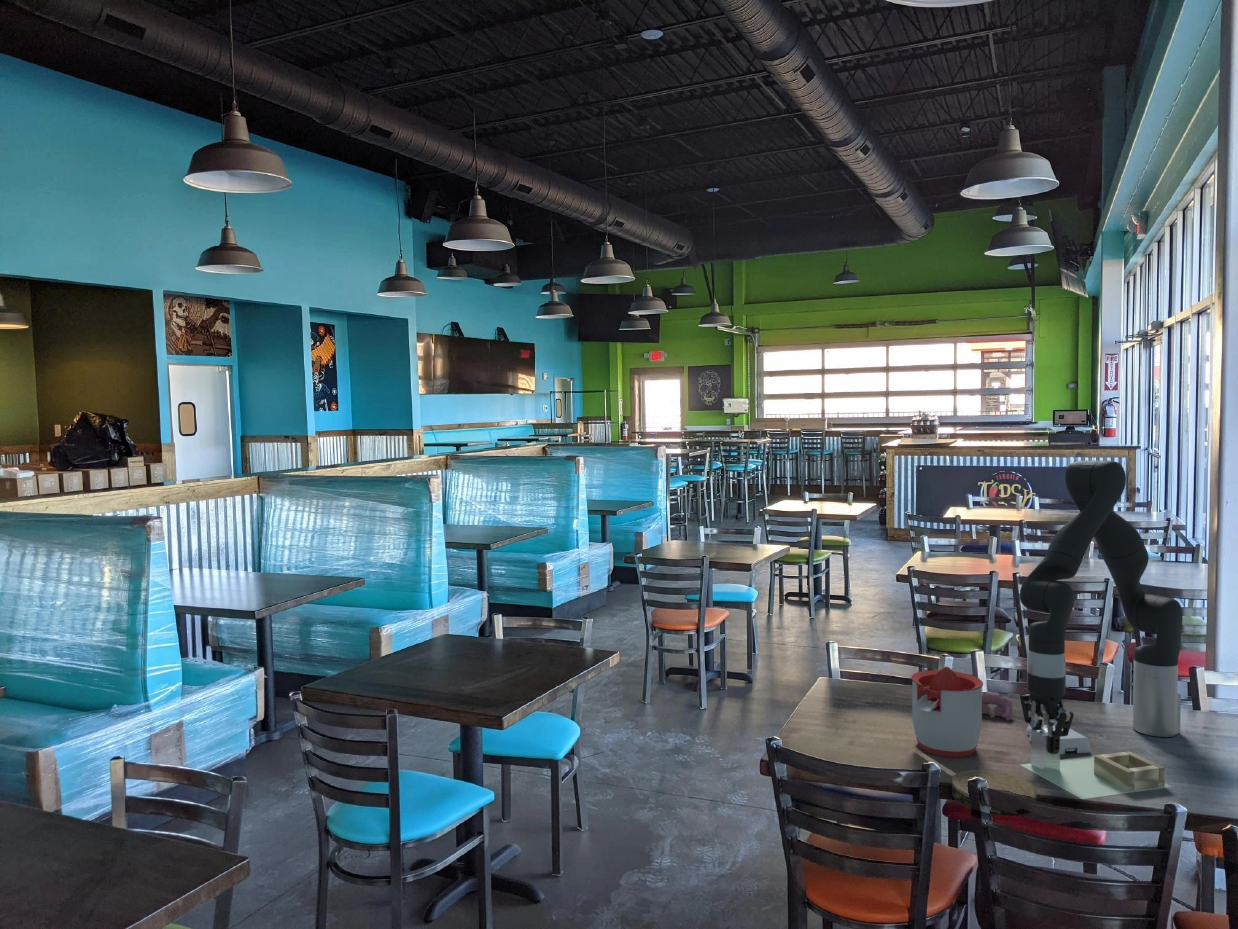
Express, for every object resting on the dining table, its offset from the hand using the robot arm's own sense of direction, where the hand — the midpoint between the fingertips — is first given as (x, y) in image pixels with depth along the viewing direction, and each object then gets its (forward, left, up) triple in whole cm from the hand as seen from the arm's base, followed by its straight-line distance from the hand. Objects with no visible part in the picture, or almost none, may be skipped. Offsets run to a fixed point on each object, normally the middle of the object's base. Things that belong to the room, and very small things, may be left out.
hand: (1045, 748), depth 187 cm
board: (-7, +6, -5) cm, 11 cm away
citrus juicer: (+14, -16, -5) cm, 22 cm away
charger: (-12, -13, -6) cm, 19 cm away
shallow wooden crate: (-12, +10, -4) cm, 16 cm away
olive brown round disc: (+19, +8, -6) cm, 21 cm away
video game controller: (-12, -34, -6) cm, 37 cm away
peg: (0, 0, -4) cm, 4 cm away
